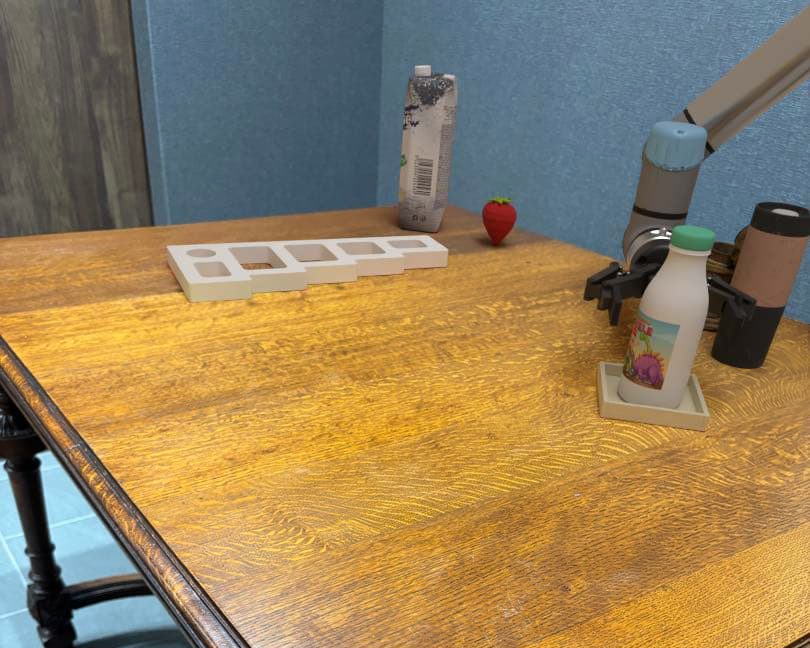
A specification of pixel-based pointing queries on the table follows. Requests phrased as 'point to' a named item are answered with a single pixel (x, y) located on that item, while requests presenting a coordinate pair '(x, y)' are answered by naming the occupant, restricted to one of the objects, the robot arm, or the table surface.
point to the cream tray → (683, 416)
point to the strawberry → (498, 218)
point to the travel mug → (765, 279)
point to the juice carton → (426, 149)
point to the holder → (295, 264)
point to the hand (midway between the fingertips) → (676, 322)
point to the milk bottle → (669, 323)
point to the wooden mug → (723, 268)
